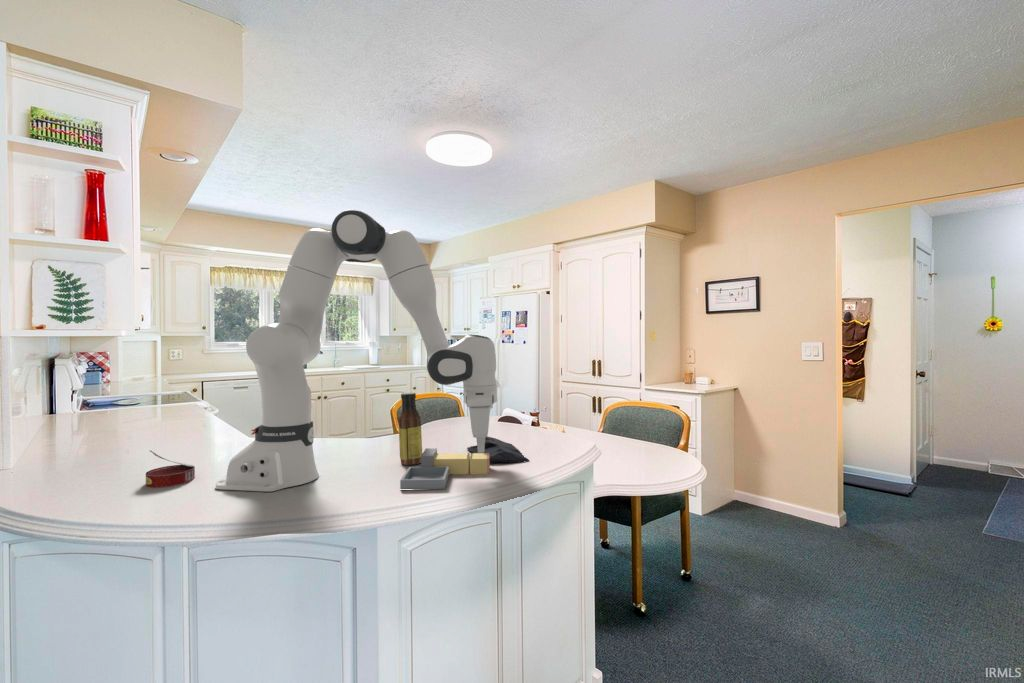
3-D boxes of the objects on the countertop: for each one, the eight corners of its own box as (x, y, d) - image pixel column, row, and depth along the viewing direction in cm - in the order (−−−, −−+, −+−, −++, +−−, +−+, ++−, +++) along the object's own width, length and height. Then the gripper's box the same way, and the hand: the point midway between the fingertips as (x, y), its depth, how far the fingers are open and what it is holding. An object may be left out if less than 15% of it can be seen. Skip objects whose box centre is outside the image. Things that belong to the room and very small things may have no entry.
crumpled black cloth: (480, 468, 126) (480, 450, 126) (465, 450, 147) (465, 435, 147) (533, 463, 130) (533, 447, 130) (511, 446, 151) (511, 432, 151)
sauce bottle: (425, 460, 132) (424, 391, 132) (418, 466, 126) (418, 394, 126) (403, 460, 133) (402, 391, 133) (395, 465, 127) (395, 394, 127)
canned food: (156, 498, 116) (160, 459, 120) (201, 490, 118) (203, 452, 122) (131, 490, 106) (136, 447, 110) (180, 481, 108) (184, 440, 112)
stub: (469, 474, 118) (469, 458, 118) (470, 468, 124) (470, 453, 124) (489, 474, 118) (489, 458, 118) (489, 467, 124) (489, 452, 124)
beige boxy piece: (421, 476, 117) (421, 455, 117) (425, 467, 125) (425, 448, 125) (468, 475, 117) (468, 455, 117) (470, 466, 125) (469, 447, 125)
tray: (400, 490, 105) (400, 480, 105) (409, 476, 117) (409, 466, 117) (444, 489, 106) (444, 479, 106) (449, 475, 117) (449, 466, 117)
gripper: (470, 391, 131) (471, 439, 132) (466, 401, 111) (467, 457, 111) (492, 391, 132) (493, 438, 132) (492, 400, 111) (493, 456, 111)
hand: (481, 447), depth 121 cm, fingers open, 8 cm apart
